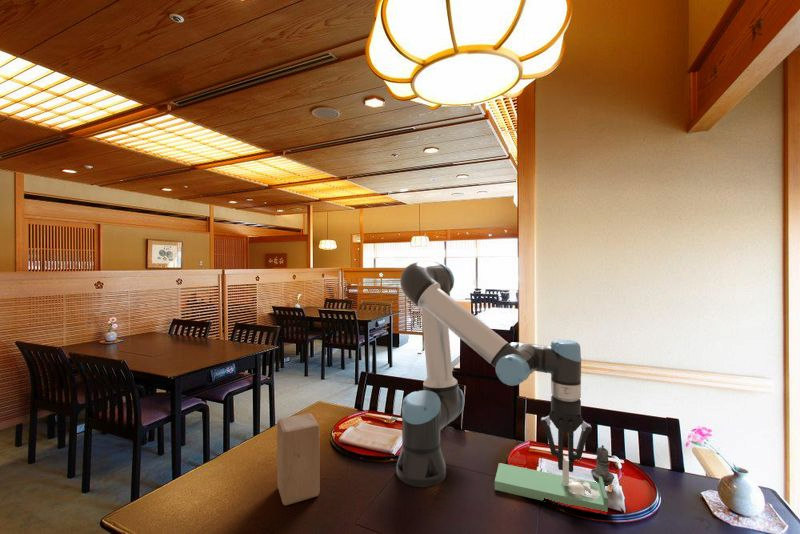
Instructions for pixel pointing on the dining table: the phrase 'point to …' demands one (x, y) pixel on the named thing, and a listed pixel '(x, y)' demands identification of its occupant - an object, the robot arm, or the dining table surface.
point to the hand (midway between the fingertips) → (565, 481)
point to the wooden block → (298, 458)
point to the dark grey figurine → (602, 467)
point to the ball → (577, 488)
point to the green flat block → (549, 487)
